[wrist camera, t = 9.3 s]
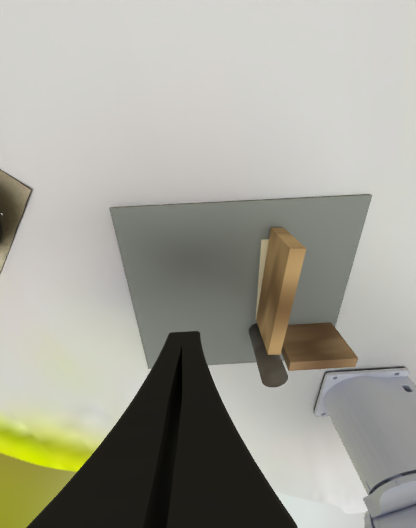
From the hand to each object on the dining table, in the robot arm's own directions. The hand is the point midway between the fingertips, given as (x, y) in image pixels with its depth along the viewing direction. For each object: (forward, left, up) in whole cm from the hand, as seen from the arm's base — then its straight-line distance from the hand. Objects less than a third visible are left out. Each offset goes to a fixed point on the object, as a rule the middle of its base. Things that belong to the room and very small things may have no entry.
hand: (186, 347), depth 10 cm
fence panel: (-6, +2, -9) cm, 11 cm away
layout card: (-4, +4, -9) cm, 11 cm away
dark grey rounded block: (-9, +8, -9) cm, 15 cm away
